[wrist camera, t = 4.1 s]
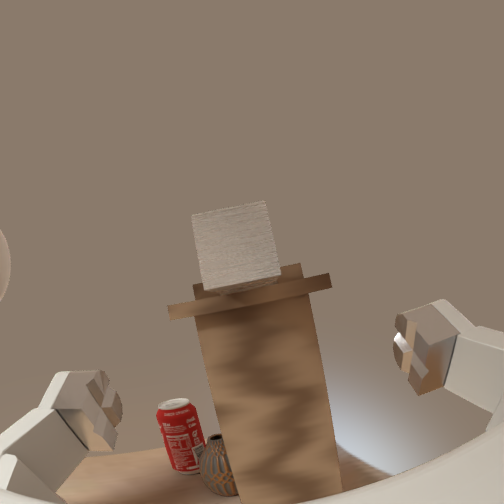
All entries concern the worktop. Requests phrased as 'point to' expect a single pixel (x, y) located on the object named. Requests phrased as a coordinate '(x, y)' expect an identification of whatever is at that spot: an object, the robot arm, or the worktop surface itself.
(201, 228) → the steel link
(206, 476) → the vase
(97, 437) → the robot arm
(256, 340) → the brown boxy piece
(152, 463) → the worktop surface
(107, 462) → the worktop surface
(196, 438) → the beverage can
